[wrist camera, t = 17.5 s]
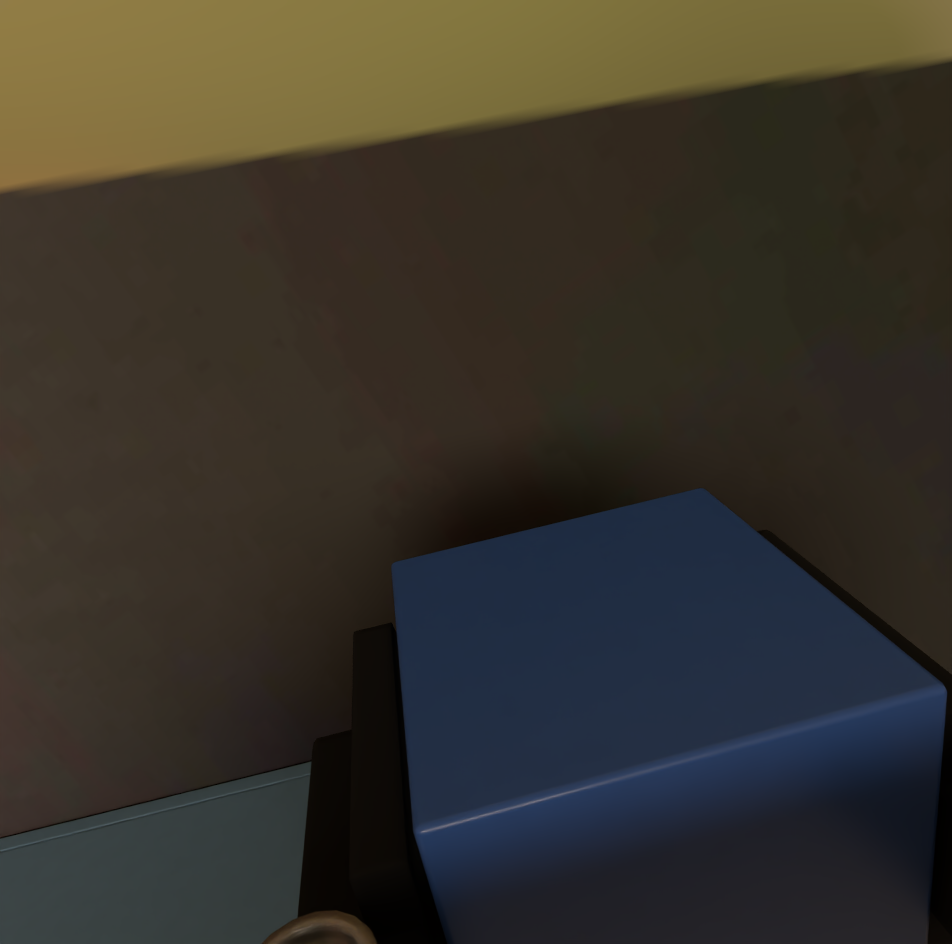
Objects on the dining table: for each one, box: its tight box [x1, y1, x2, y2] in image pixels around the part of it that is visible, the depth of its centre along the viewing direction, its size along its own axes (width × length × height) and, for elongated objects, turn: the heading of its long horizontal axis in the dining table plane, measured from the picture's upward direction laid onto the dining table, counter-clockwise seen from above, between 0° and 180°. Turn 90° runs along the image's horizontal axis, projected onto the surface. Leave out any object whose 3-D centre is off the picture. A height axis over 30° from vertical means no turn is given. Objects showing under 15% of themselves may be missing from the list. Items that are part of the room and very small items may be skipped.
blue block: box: [391, 488, 947, 944], centre depth 8 cm, size 4×4×4 cm
